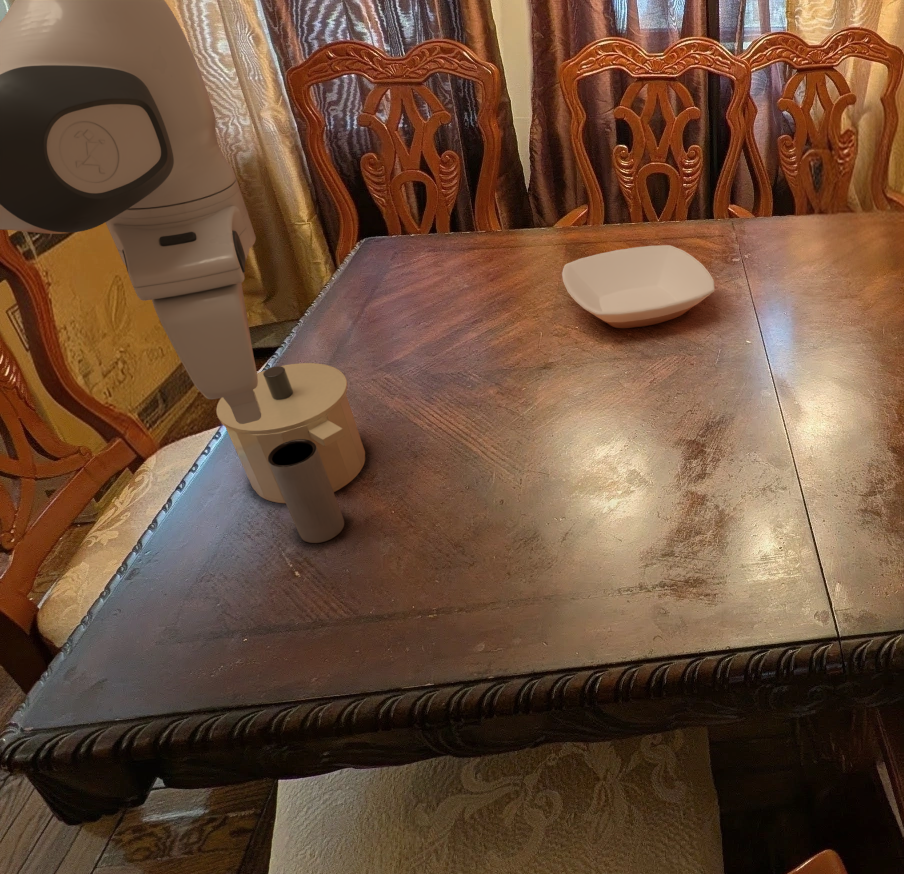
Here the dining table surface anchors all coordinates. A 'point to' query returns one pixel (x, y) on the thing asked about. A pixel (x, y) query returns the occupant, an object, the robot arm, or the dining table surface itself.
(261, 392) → the pot lid
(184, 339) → the robot arm
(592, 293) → the bowl
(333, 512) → the planter
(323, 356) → the dining table surface
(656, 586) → the dining table surface
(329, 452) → the pot
